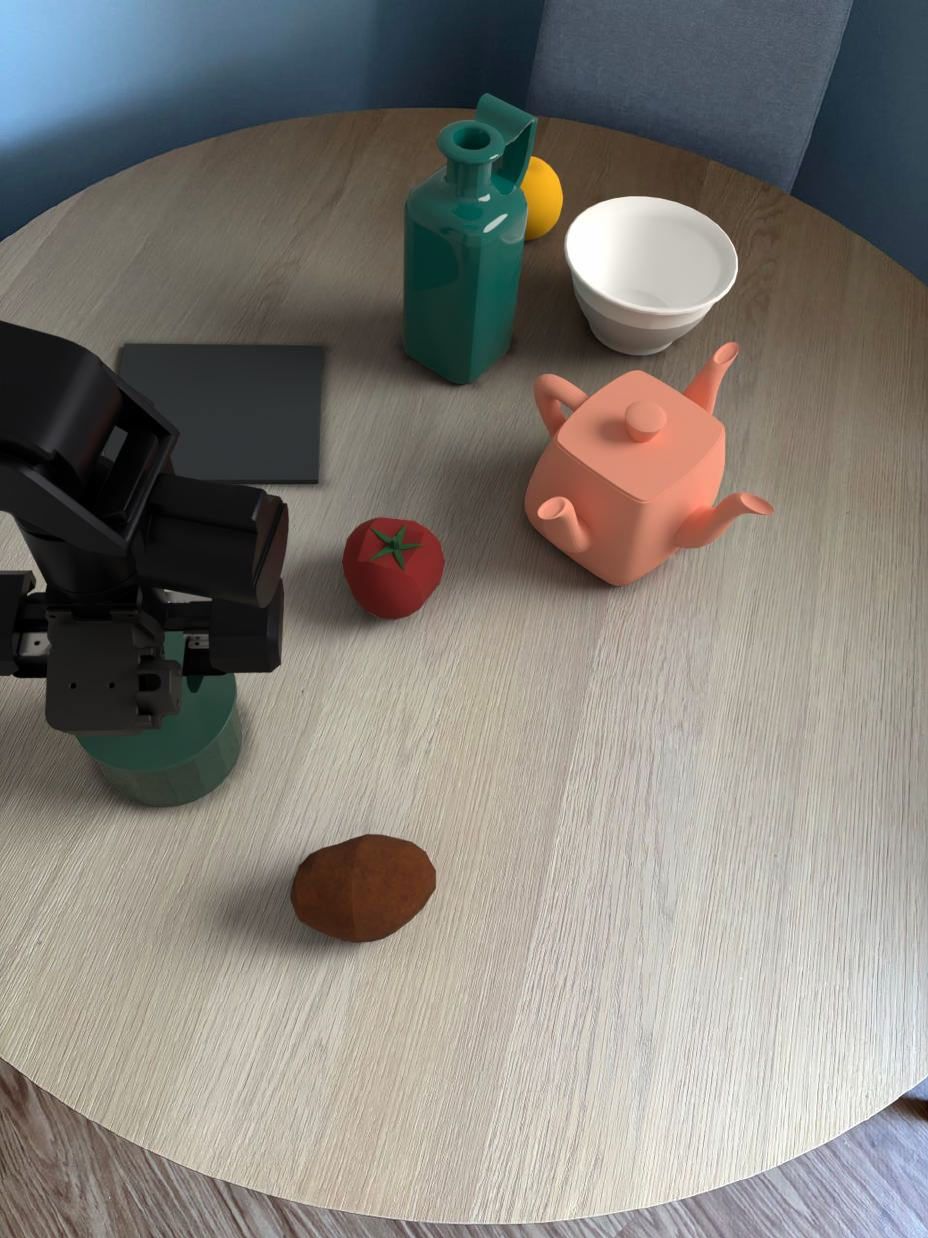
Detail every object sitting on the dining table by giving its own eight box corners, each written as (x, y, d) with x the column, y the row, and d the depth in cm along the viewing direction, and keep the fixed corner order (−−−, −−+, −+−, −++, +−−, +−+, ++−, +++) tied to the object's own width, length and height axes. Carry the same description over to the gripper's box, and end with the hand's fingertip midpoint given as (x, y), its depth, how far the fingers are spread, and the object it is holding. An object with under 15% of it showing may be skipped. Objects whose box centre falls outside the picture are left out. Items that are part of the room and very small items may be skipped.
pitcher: (465, 393, 96) (483, 183, 77) (393, 350, 98) (394, 135, 80) (526, 336, 100) (557, 123, 82) (456, 296, 103) (471, 80, 84)
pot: (732, 609, 85) (781, 516, 75) (520, 604, 84) (540, 509, 74) (702, 436, 95) (741, 332, 85) (511, 430, 94) (527, 324, 84)
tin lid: (59, 779, 68) (34, 742, 63) (83, 633, 73) (62, 589, 69) (232, 776, 68) (221, 739, 64) (243, 631, 74) (233, 587, 69)
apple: (568, 247, 108) (579, 183, 101) (494, 257, 106) (501, 192, 100) (544, 198, 112) (554, 133, 105) (473, 207, 110) (478, 142, 104)
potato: (304, 845, 73) (297, 810, 67) (437, 855, 73) (441, 822, 68) (289, 947, 69) (280, 919, 64) (430, 957, 69) (433, 931, 64)
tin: (92, 809, 73) (66, 768, 67) (110, 682, 78) (87, 634, 73) (237, 805, 74) (224, 765, 68) (245, 680, 79) (234, 633, 73)
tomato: (453, 566, 86) (458, 512, 80) (421, 646, 82) (424, 595, 76) (361, 539, 87) (359, 483, 81) (325, 616, 83) (320, 564, 77)
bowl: (705, 273, 107) (728, 200, 100) (722, 387, 98) (749, 317, 91) (550, 263, 106) (561, 189, 99) (553, 377, 98) (566, 306, 91)
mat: (102, 483, 88) (101, 479, 88) (125, 347, 97) (124, 342, 96) (318, 483, 90) (318, 479, 89) (322, 349, 98) (322, 344, 97)
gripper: (-128, 685, 51) (-21, 806, 64) (261, 680, 52) (287, 799, 66) (-77, 503, 57) (11, 648, 70) (272, 503, 58) (294, 645, 71)
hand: (149, 687), depth 69 cm, fingers open, 6 cm apart
